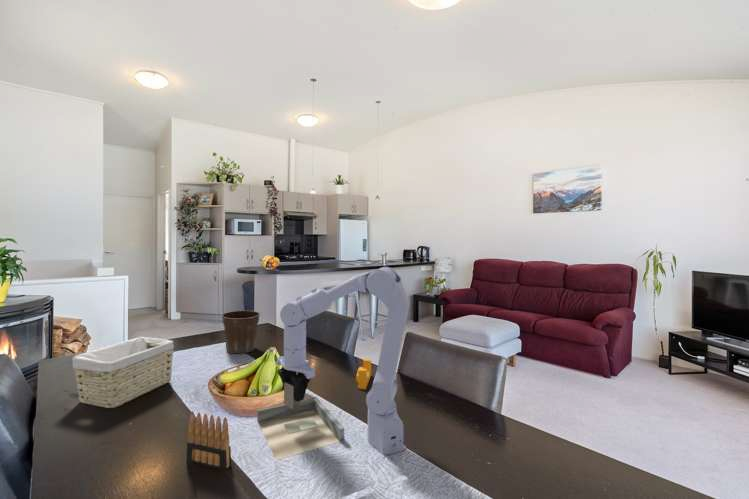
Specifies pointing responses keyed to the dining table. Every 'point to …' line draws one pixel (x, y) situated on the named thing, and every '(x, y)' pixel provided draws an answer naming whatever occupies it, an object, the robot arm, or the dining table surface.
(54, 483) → the dining table surface
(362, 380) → the pipe clamp
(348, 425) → the dining table surface
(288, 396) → the bracket
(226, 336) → the plant pot
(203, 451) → the ammunition clip
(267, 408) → the tray
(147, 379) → the storage basket
